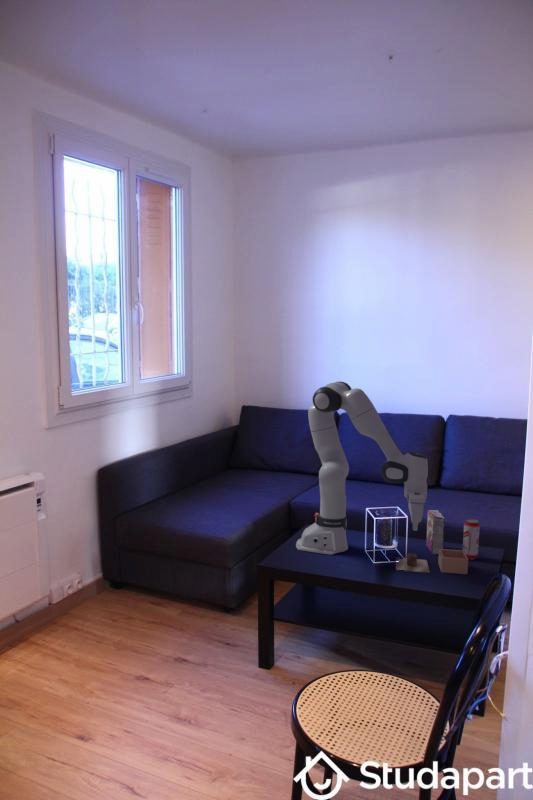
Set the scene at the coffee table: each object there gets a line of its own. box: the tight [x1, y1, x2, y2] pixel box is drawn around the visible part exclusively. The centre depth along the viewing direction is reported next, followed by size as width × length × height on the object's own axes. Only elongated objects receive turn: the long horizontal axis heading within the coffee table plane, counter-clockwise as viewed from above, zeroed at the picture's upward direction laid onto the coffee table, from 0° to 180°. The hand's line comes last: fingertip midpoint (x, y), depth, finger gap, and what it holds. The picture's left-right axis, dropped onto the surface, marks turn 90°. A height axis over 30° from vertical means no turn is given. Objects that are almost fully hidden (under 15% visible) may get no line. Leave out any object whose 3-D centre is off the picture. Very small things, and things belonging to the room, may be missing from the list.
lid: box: [394, 552, 431, 574], centre depth 254 cm, size 13×13×5 cm
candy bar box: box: [425, 509, 446, 556], centre depth 271 cm, size 11×5×16 cm, turn 179°
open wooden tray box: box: [437, 548, 469, 575], centre depth 252 cm, size 10×10×6 cm
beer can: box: [461, 518, 481, 561], centre depth 263 cm, size 6×6×16 cm
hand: (414, 526), depth 252 cm, fingers open, 8 cm apart
